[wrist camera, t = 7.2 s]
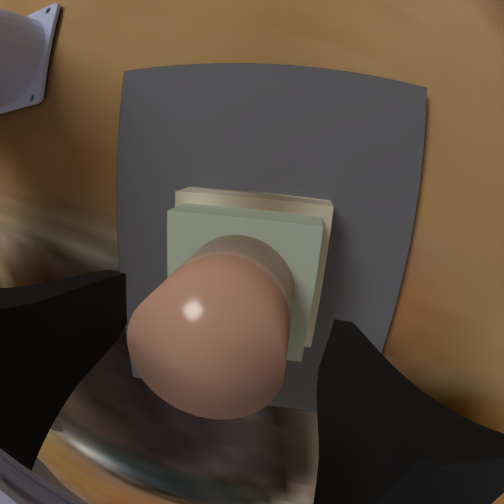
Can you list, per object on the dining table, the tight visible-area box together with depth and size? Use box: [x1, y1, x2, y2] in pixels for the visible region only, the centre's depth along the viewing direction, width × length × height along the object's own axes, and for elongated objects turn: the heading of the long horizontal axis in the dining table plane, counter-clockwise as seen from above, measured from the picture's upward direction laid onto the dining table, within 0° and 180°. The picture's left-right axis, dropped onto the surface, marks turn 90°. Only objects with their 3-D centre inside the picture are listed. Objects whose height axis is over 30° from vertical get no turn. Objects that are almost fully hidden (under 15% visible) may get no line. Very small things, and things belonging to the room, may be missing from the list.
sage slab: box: [167, 203, 323, 362], centre depth 14 cm, size 6×6×2 cm
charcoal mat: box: [117, 63, 427, 411], centre depth 17 cm, size 16×20×1 cm
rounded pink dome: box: [127, 235, 294, 420], centre depth 10 cm, size 4×4×5 cm
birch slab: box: [175, 187, 334, 347], centre depth 16 cm, size 7×7×2 cm
